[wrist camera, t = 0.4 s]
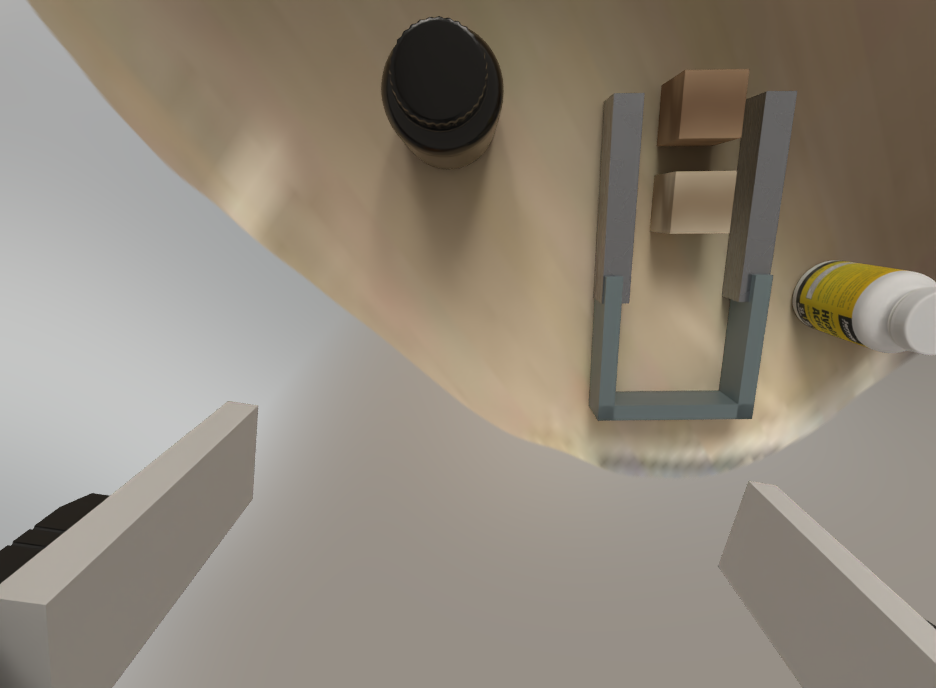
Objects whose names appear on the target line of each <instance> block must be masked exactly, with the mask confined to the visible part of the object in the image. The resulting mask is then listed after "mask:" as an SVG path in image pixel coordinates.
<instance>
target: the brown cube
mask: <svg viewBox="0 0 936 688" xmlns="http://www.w3.org/2000/svg"><path fill="white" fill-rule="evenodd" d="M748 78H749V69H716V70H684V71H683V72H681V73H680V74H678V75H677V76H675V77H674V78H672V79H671V80H669V81H668V82H666V83H665V84H663V85H662V89H661V101H660V113H659V125H658V138H657V146H713V145H717V144H720V143H724V142H728V141H731V140H735V139H739V138H741V135H742V127H743V119H744V111H745V102H746V94H747V86H748Z"/></svg>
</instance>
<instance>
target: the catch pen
mask: <svg viewBox="0 0 936 688" xmlns="http://www.w3.org/2000/svg"><path fill="white" fill-rule="evenodd" d="M772 280H773V275H770V274H754V275H752V280H751V287H750V295H749V302H737V301H734V300H730V308H729V316H728V324H727V332H726V339H725V347H724V355H723V363H722V371H721V379H720V387H719V391H638V392H616V378H617V363H618V349H619V334H620V320H621V305H622V291H623V277H622V276H605V279H604V296H603V304H601V303H600V302H599V301H597V300H596V299H595V301H594V319H593V337H592V355H591V373H590V392H589V407H590V409H591V410H592V412H593V413H594V415H595V417H596V418H597V420H598V421H600V420H694V419H752V415H753V408H754V401H755V395H756V388H757V381H758V374H759V368H760V361H761V354H762V347H763V340H764V334H765V327H766V320H767V313H768V307H769V300H770V293H771V286H772Z"/></svg>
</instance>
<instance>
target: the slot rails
mask: <svg viewBox="0 0 936 688" xmlns="http://www.w3.org/2000/svg"><path fill="white" fill-rule="evenodd" d="M796 96H797V91H766V92H764V93H761V94H759V95H756V96H754V97H751V98H749V99H746V104H745V112H744V120H743V128H742V137H741V145H740V153H739V161H738V169H737V177H736V186H735V194H734V202H733V210H732V218H731V227H730V235H729V243H728V251H727V259H726V267H725V276H724V284H723V292H722V297H725V298H728V299H731V300H734V301H737V302H749V295H750V287H751V280H752V275H754V274H771V267H772V260H773V253H774V246H775V239H776V233H777V226H778V219H779V212H780V205H781V198H782V192H783V185H784V178H785V171H786V164H787V157H788V150H789V144H790V137H791V130H792V123H793V116H794V109H795V103H796ZM643 107H644V93H614V94H613V95H612V96H610V97H609V98H608V99H607V100H605V101H604V111H603V129H602V148H601V166H600V185H599V203H598V221H597V240H596V258H595V277H594V295H593V298H594V299H596V300H597V301H599V302H600V303H601V304H603V296H604V279H605V276H622V277H623V291H622V303H629V298H630V284H631V271H632V257H633V243H634V230H635V216H636V202H637V189H638V175H639V162H640V148H641V134H642V121H643Z"/></svg>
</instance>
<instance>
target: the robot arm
mask: <svg viewBox="0 0 936 688" xmlns="http://www.w3.org/2000/svg"><path fill="white" fill-rule="evenodd" d="M257 416H258V406H257V405H250V404H244V403H237V402H231V401H228V402H227V403H225V404H224V405H223V406H222V407H220V408H219V409H218V410H216V411H215V412H214V413H213V414H212V415H210V416H209V417H208V418H206V419H205V420H204V421H203V422H202V423H200V424H199V425H198V426H197V427H195V428H194V429H193V430H192V431H190V432H189V433H188V434H187V435H185V436H184V437H183V438H182V439H180V440H179V441H178V442H177V443H175V444H174V445H173V446H172V447H171V448H169V449H168V450H167V451H165V452H164V453H163V454H162V455H161V456H159V457H158V458H157V459H155V460H154V461H153V462H152V463H150V464H149V465H148V466H147V467H145V468H144V469H143V470H142V471H141V472H139V473H138V474H137V475H135V476H134V477H133V478H132V479H130V480H129V481H128V482H127V483H125V484H124V485H123V486H122V487H120V488H119V489H118V490H117V491H115V492H114V493H113V494H112V495H110V496H108V495H101V494H94V493H92V494H89V495H87V496H84V497H82V498H80V499H77V500H75V501H73V502H71V503H68V504H66V505H64V506H62V507H59V508H58V509H57V510H55V511H54V512H53V513H51V514H50V515H48V516H47V517H46V518H44V519H43V520H42V521H40V522H39V523H37V524H36V525H35V527H34V529H33V530H31V529H29V530H28V531H27V532H25V533H24V534H22V535H21V536H20V537H18V538H17V539H16V540H14V541H13V544H12V545H11V546H6V547H5V548H3V549H2V550H1V551H0V688H112V687H113V686H114V685H115V683H116V682H117V681H118V679H119V678H120V677H121V675H122V674H123V672H124V671H125V670H126V668H127V667H128V666H129V664H130V663H131V662H132V660H133V659H134V658H135V656H136V655H137V654H138V652H139V651H140V650H141V648H142V647H143V645H144V644H145V643H146V641H147V640H148V639H149V637H150V636H151V635H152V633H153V632H154V631H155V629H156V628H157V627H158V625H159V624H160V623H161V621H162V620H163V619H164V617H165V616H166V614H167V613H168V612H169V610H170V609H171V608H172V607H173V605H174V604H175V603H176V601H177V600H178V598H179V597H180V595H181V594H182V593H183V592H184V590H185V589H186V588H187V586H188V585H189V584H190V582H191V581H192V580H193V578H194V577H195V576H196V574H197V573H198V572H199V570H200V569H201V568H202V566H203V565H204V563H205V562H206V561H207V559H208V558H209V557H210V555H211V554H212V553H213V551H214V550H215V549H216V547H217V546H218V545H219V543H220V542H221V540H222V539H223V538H224V536H225V535H226V534H227V532H228V531H229V530H230V529H231V527H232V526H233V524H234V523H235V522H236V520H237V519H238V518H239V516H240V515H241V514H242V512H243V511H244V510H245V508H246V507H247V506H248V504H249V503H250V502H251V500H252V499H253V484H254V467H255V450H256V434H257ZM718 567H719V569H720V570H721V571H722V573H723V574H724V576H725V577H726V579H727V580H728V582H729V583H730V584H731V586H732V587H733V589H734V590H735V592H736V593H737V594H738V596H739V597H740V599H741V600H742V601H743V603H744V604H745V606H746V607H747V609H748V610H749V612H750V613H751V614H752V616H753V617H754V619H755V620H756V622H757V623H758V625H759V626H760V627H761V629H762V630H763V632H764V633H765V634H766V636H767V637H768V639H769V640H770V642H771V643H772V645H773V646H774V647H775V649H776V650H777V652H778V653H779V655H780V656H781V658H782V659H783V660H784V662H785V663H786V665H787V666H788V668H789V669H790V670H791V672H792V673H793V675H794V676H795V678H796V679H797V681H798V682H799V683H800V685H801V686H802V688H936V626H935V625H933V624H932V623H930V622H929V621H927V620H926V619H924V618H923V617H922V616H920V615H919V614H918V613H917V612H916V611H915V610H914V609H913V608H911V607H910V606H909V605H908V604H907V603H906V602H905V601H904V600H903V599H902V598H900V597H899V596H898V595H897V594H896V593H895V592H894V591H893V590H891V589H890V588H889V587H888V586H887V585H886V584H885V583H884V582H882V581H881V580H880V579H879V578H878V577H877V576H876V575H875V574H874V573H873V572H872V571H870V570H869V569H868V568H867V567H866V566H865V565H864V564H863V563H862V562H861V561H859V560H858V559H857V558H856V557H855V556H854V555H853V554H852V553H851V552H849V551H848V550H847V549H846V548H845V547H844V546H843V545H842V544H841V543H839V542H838V541H837V540H836V539H835V538H834V537H833V536H832V535H831V534H829V533H828V532H827V531H826V530H825V529H824V528H823V527H822V526H821V525H819V524H818V523H817V522H816V521H815V520H814V519H813V518H812V517H811V516H809V515H808V514H807V513H806V512H805V511H804V510H803V509H802V508H801V507H799V506H798V505H797V504H796V503H795V502H794V501H793V500H792V499H791V498H789V497H788V496H787V495H786V494H785V493H784V492H783V491H782V490H781V489H779V488H778V487H777V486H776V485H771V484H765V483H758V482H752V481H748V484H747V487H746V490H745V492H744V495H743V498H742V501H741V504H740V506H739V510H738V512H737V515H736V518H735V520H734V523H733V526H732V529H731V532H730V534H729V537H728V540H727V543H726V546H725V549H724V551H723V554H722V557H721V560H720V562H719V565H718Z"/></svg>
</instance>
